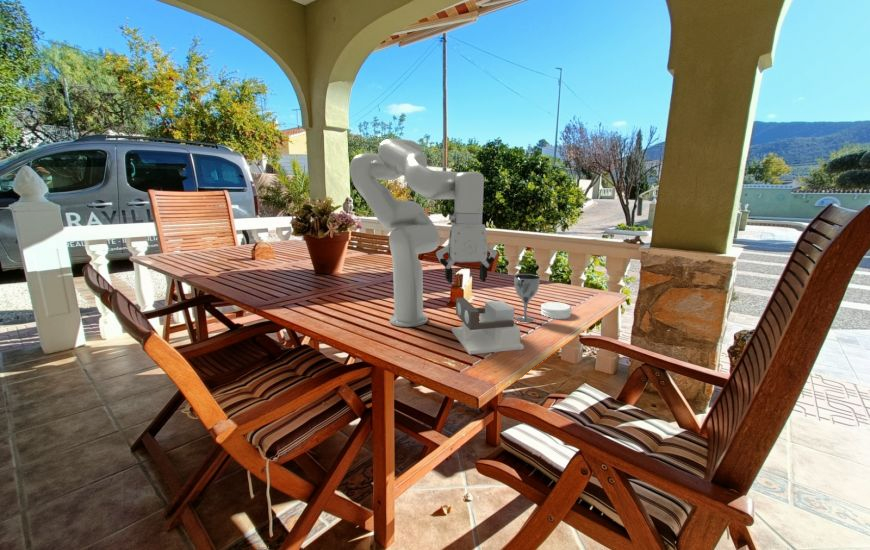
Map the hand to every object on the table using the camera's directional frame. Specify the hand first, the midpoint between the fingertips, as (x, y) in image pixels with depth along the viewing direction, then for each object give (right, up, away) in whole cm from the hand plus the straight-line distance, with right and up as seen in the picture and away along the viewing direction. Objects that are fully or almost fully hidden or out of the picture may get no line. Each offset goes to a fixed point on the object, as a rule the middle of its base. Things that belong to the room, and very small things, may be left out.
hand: (466, 281), depth 107 cm
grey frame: (+5, -11, +3) cm, 13 cm away
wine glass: (+21, -14, +21) cm, 33 cm away
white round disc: (+33, -13, +27) cm, 45 cm away
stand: (+6, -17, +5) cm, 19 cm away
